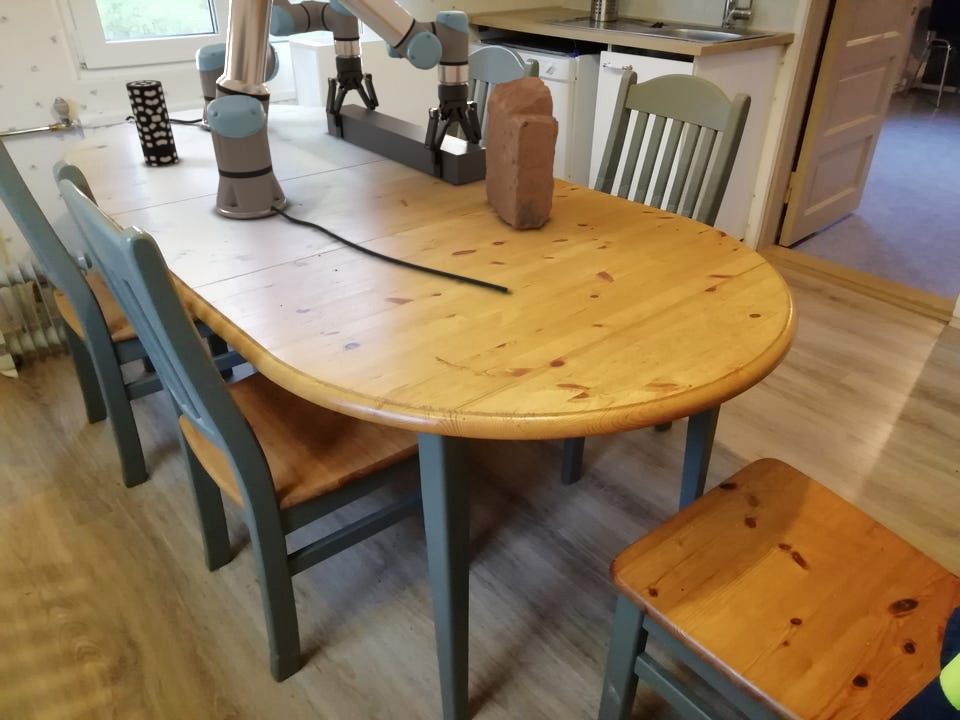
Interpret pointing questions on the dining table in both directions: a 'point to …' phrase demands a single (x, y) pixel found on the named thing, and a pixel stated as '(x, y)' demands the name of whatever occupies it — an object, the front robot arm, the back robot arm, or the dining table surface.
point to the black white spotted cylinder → (152, 122)
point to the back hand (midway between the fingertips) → (355, 134)
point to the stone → (521, 151)
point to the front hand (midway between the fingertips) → (454, 172)
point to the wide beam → (410, 144)
